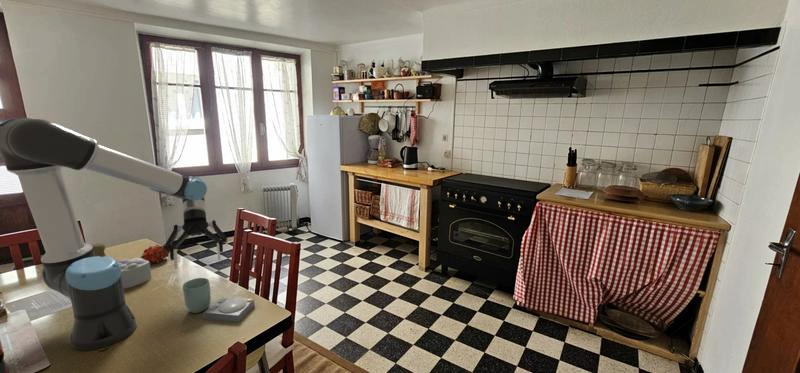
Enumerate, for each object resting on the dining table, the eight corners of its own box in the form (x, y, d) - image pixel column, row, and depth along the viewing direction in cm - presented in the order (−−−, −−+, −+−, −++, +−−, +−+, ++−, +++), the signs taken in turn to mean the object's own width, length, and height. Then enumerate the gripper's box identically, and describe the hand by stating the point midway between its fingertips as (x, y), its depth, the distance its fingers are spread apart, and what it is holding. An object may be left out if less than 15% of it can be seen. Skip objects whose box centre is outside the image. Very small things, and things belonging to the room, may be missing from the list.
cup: (193, 318, 112) (190, 291, 109) (181, 311, 116) (178, 284, 113) (216, 307, 118) (213, 281, 116) (204, 301, 122) (201, 275, 120)
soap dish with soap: (238, 322, 110) (238, 314, 110) (204, 319, 111) (203, 311, 111) (254, 305, 120) (254, 298, 119) (222, 302, 121) (222, 295, 121)
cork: (101, 271, 142) (96, 247, 140) (87, 271, 142) (82, 246, 140) (113, 265, 148) (109, 241, 146) (99, 265, 148) (95, 241, 146)
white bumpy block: (154, 278, 138) (151, 258, 136) (116, 292, 126) (113, 271, 124) (141, 272, 142) (138, 253, 140) (103, 285, 131) (99, 265, 129)
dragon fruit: (173, 260, 158) (144, 273, 148) (164, 247, 160) (134, 259, 150) (174, 250, 153) (144, 262, 143) (164, 237, 155) (134, 248, 145)
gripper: (230, 213, 140) (236, 261, 131) (157, 221, 128) (158, 274, 119) (230, 204, 135) (236, 253, 125) (153, 212, 122) (154, 267, 113)
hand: (198, 263), depth 122 cm, fingers open, 13 cm apart
